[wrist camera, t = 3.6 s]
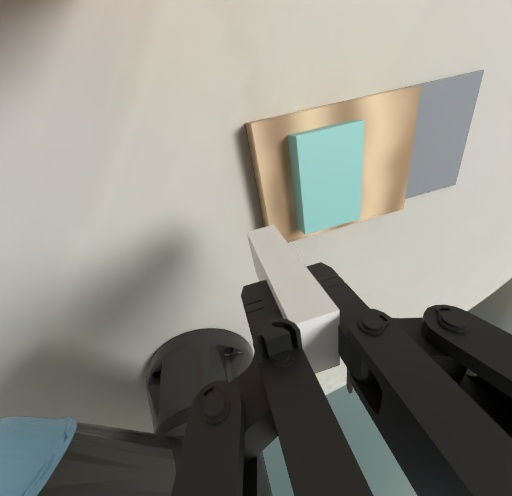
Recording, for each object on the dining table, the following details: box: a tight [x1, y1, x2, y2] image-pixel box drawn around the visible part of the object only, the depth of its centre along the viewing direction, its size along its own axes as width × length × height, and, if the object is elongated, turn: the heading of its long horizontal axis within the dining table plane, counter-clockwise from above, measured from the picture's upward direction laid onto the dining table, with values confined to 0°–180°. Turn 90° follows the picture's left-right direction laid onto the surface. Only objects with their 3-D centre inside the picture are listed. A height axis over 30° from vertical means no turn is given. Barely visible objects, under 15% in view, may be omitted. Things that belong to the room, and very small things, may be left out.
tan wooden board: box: [245, 85, 421, 243], centre depth 24 cm, size 16×12×2 cm
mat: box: [405, 70, 484, 199], centre depth 26 cm, size 9×12×1 cm
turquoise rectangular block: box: [288, 120, 364, 235], centre depth 22 cm, size 6×9×2 cm, turn 12°
